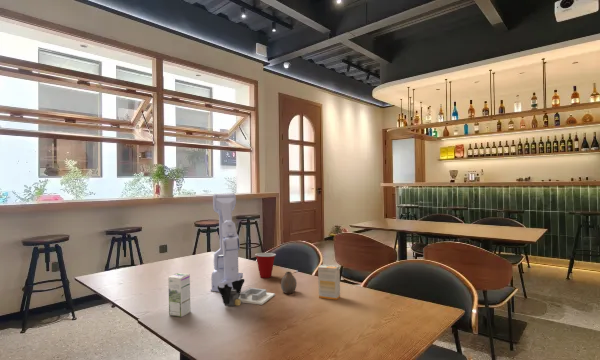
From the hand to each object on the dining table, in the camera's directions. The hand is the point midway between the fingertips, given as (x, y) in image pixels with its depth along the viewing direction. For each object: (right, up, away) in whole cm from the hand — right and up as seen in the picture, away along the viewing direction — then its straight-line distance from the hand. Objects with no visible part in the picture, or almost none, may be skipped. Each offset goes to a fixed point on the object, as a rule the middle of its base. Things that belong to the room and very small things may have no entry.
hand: (231, 300), depth 135 cm
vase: (+23, -1, +14) cm, 26 cm away
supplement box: (+40, -1, +6) cm, 40 cm away
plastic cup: (+10, -2, +39) cm, 40 cm away
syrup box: (-18, -2, -9) cm, 20 cm away
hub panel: (+8, -1, +7) cm, 10 cm away
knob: (0, -1, 0) cm, 1 cm away
